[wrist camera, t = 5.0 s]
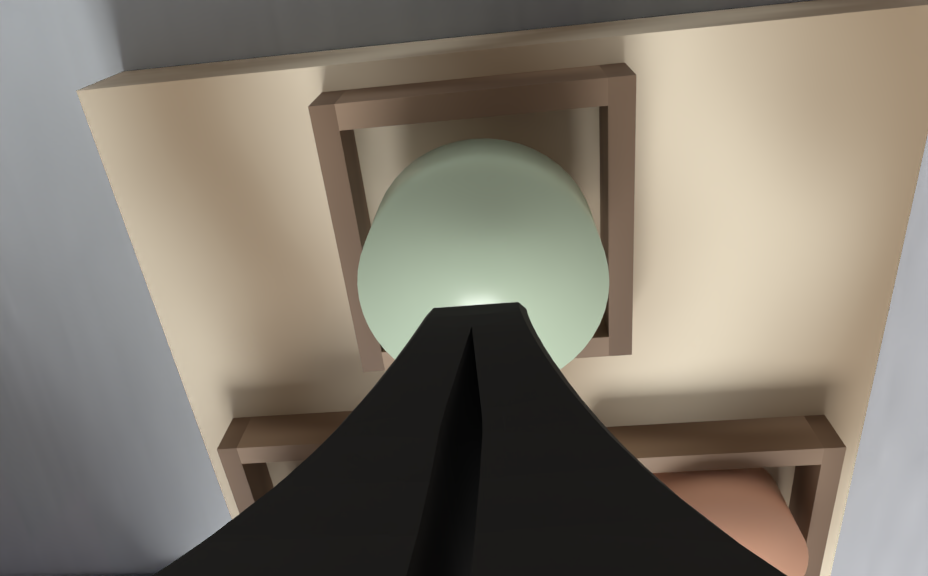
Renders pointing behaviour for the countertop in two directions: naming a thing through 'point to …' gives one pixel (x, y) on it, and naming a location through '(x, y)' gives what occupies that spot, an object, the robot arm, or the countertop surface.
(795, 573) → the terracotta button
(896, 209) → the button panel
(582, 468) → the robot arm
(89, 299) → the countertop surface
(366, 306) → the sage button
